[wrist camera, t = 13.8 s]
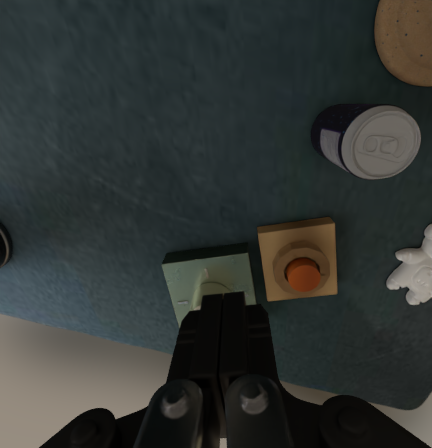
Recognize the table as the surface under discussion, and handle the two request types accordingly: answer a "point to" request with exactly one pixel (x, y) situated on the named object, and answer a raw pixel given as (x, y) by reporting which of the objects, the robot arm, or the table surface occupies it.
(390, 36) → the candle holder
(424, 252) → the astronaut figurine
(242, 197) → the table surface
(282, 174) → the table surface
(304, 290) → the button
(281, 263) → the button block
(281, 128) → the table surface
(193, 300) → the rotary dial knob
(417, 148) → the beverage can
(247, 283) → the control knob panel
